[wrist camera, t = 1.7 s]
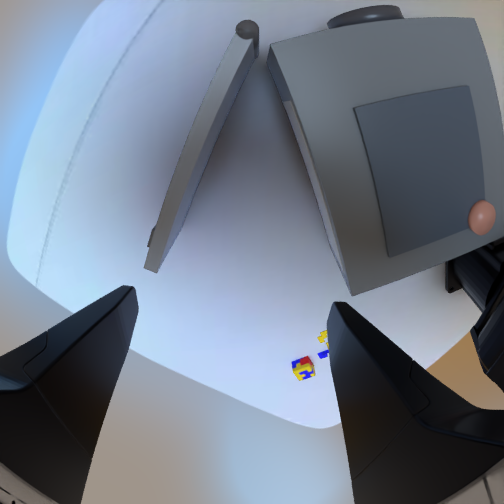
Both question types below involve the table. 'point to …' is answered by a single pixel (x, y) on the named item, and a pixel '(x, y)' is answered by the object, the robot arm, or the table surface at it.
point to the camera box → (396, 139)
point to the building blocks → (308, 362)
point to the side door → (202, 140)
